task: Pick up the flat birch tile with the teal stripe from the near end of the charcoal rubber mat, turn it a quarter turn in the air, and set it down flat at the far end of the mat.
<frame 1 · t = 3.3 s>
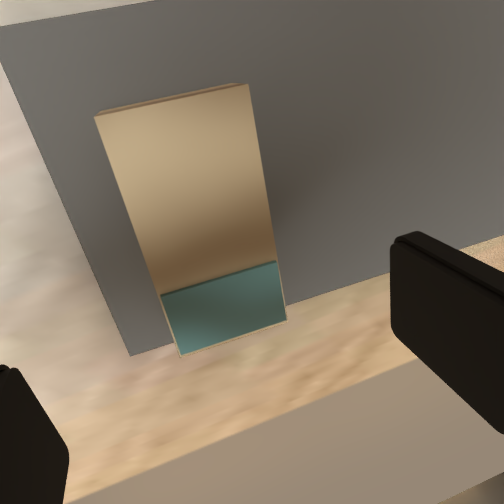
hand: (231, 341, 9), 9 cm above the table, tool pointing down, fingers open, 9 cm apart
rubber mat: (317, 160, 17), on the table
birch tile: (199, 217, 16), point 1 cm above the table, touching rubber mat
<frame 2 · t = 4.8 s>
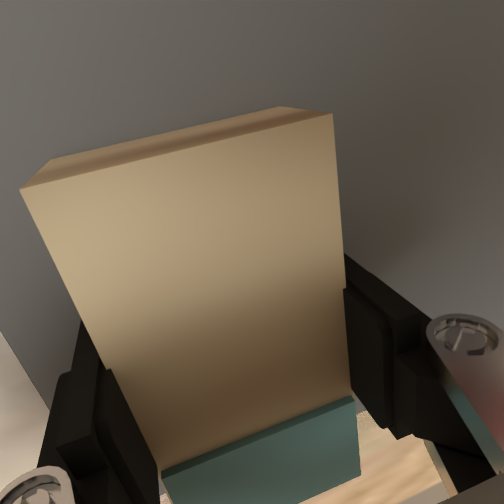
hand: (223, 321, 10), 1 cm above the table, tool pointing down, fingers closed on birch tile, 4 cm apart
rubber mat: (397, 217, 11), on the table
birch tile: (221, 316, 10), point 1 cm above the table, touching gripper, rubber mat
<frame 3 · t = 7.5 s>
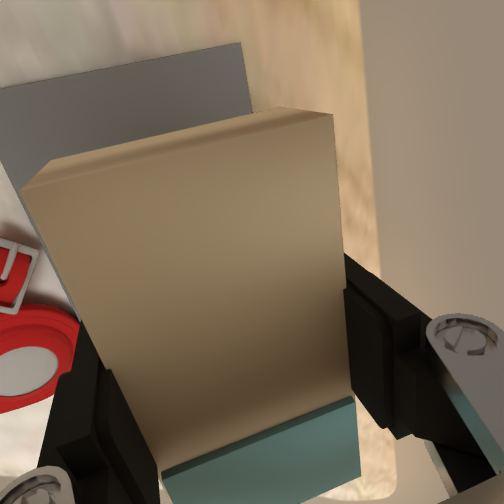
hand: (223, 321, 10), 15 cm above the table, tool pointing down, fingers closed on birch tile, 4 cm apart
rubber mat: (171, 248, 25), on the table
tracker holder: (19, 318, 24), on the table
birch tile: (222, 317, 10), point 15 cm above the table, touching gripper
when the fingers open (2 cm above the table, at t = 10.2 s): birch tile drops 1 cm, resting on rubber mat.
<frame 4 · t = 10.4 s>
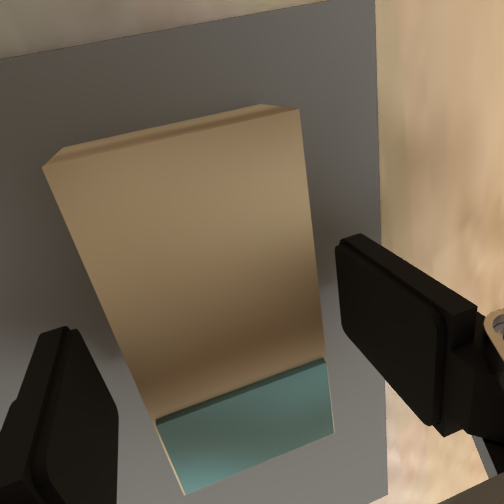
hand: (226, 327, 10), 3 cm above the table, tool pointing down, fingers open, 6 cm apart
rubber mat: (207, 382, 14), on the table
birch tile: (211, 291, 12), point 1 cm above the table, touching rubber mat
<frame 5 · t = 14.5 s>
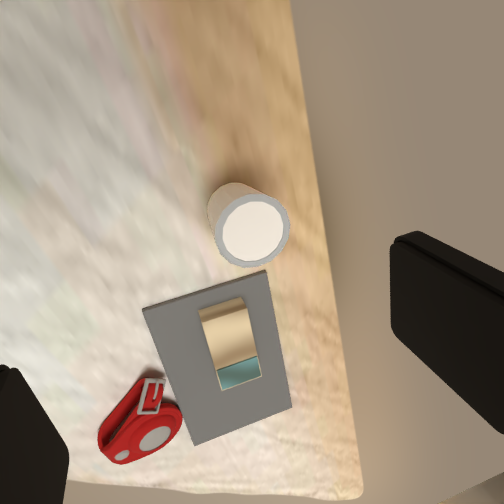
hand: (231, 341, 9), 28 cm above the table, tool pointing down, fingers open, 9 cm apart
rubber mat: (226, 363, 46), on the table
tracker holder: (147, 407, 46), on the table
white cylinder: (233, 208, 38), on the table
birch tile: (228, 338, 44), point 1 cm above the table, touching rubber mat
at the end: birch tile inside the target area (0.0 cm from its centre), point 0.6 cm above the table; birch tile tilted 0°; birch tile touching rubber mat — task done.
